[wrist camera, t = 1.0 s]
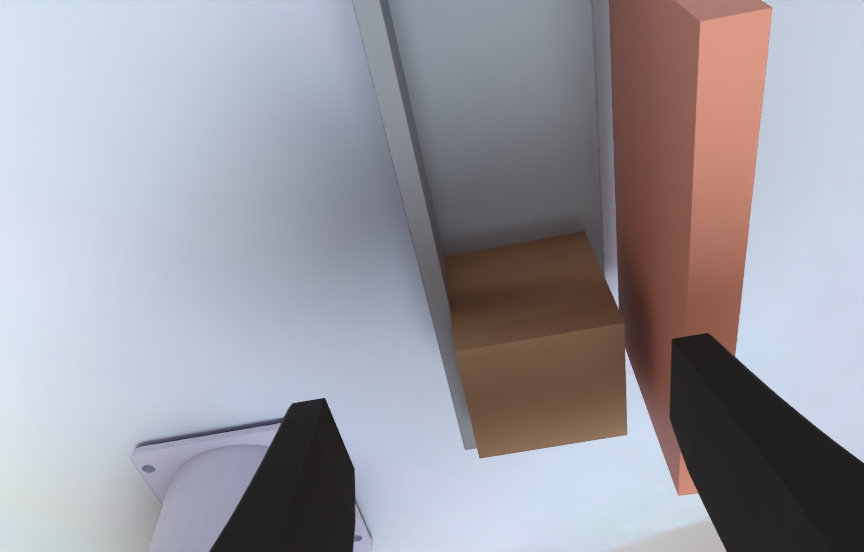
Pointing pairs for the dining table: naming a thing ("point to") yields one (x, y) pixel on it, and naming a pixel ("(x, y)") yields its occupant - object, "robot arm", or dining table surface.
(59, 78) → the dining table surface
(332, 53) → the dining table surface
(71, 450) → the dining table surface
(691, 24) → the thick rectangular slab
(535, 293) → the block
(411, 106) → the grey boxy piece
